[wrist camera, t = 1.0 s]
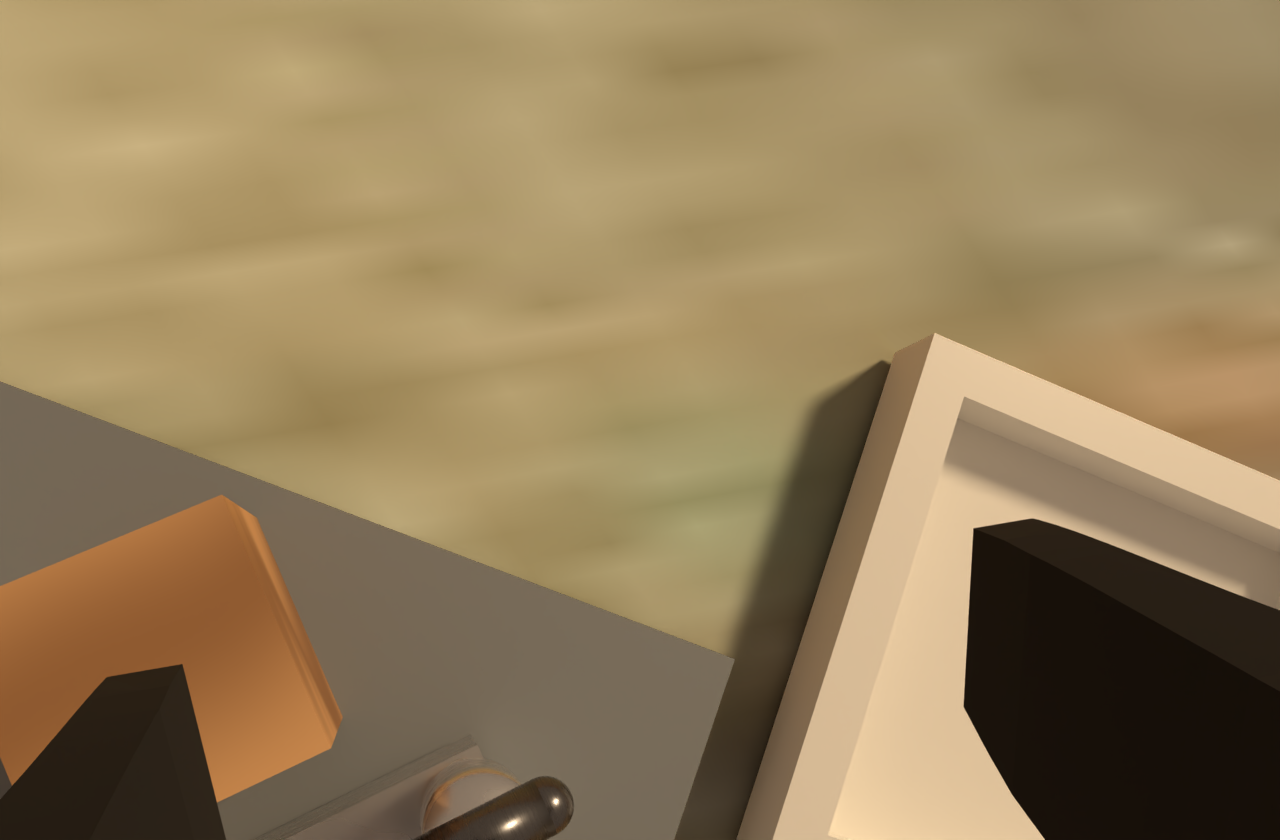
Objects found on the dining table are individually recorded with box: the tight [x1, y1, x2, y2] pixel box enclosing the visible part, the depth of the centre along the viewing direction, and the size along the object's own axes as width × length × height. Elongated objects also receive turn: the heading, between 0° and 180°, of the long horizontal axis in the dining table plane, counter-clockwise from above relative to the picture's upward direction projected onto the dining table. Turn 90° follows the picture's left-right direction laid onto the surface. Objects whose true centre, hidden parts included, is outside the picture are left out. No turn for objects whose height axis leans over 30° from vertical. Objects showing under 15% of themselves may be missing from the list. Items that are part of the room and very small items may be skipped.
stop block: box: [0, 495, 343, 802], centre depth 20 cm, size 4×4×5 cm
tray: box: [736, 333, 1280, 840], centre depth 25 cm, size 11×11×2 cm
